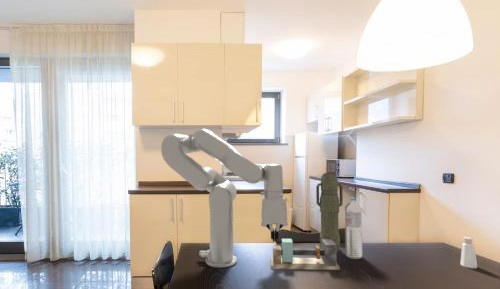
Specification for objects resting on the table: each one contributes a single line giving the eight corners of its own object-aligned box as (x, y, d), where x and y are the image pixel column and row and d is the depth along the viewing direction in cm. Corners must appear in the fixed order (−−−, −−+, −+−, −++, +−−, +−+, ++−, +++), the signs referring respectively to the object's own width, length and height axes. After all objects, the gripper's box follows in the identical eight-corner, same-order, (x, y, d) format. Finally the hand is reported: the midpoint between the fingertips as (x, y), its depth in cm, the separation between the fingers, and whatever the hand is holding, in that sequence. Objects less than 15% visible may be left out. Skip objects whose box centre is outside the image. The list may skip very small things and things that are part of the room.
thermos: (314, 246, 130) (313, 172, 131) (338, 245, 131) (337, 172, 132) (320, 252, 121) (319, 174, 122) (346, 252, 122) (345, 174, 123)
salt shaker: (458, 262, 111) (457, 234, 111) (475, 264, 108) (474, 236, 109) (461, 267, 106) (461, 238, 106) (479, 269, 103) (478, 240, 104)
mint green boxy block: (282, 261, 106) (282, 242, 106) (281, 257, 110) (281, 238, 111) (292, 262, 106) (292, 242, 106) (291, 257, 110) (291, 238, 111)
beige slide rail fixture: (271, 268, 104) (271, 244, 104) (270, 259, 113) (270, 237, 113) (339, 269, 103) (339, 245, 103) (333, 260, 112) (333, 238, 112)
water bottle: (364, 260, 112) (363, 199, 113) (346, 258, 114) (345, 199, 115) (360, 254, 119) (359, 197, 120) (344, 253, 120) (343, 196, 121)
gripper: (254, 196, 106) (255, 244, 105) (293, 195, 105) (294, 243, 105) (255, 193, 113) (256, 238, 113) (291, 193, 113) (292, 237, 112)
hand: (274, 240), depth 109 cm, fingers closed
